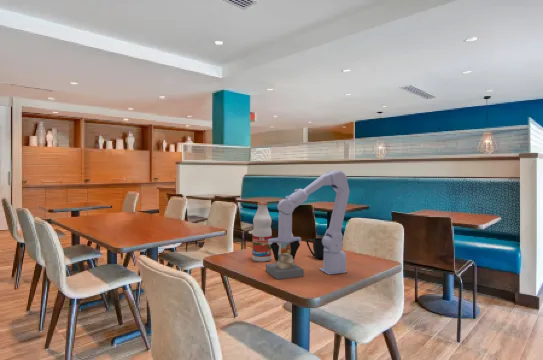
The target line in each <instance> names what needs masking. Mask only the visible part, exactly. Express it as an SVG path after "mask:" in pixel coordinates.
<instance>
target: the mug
mask: <svg viewBox="0 0 543 360" xmlns="http://www.w3.org/2000/svg"><path fill="white" fill-rule="evenodd" d="M322 238H323V237H316V238H313V239H311V238H307V239H306V245H307V248H308V250H309V252H310V253H311V255H312V256H313V257H314V258H315V259H316V260H322V261H323V258H324V246H323V244H322ZM309 241H311V242H312V248H311V246H310V243H309ZM312 249H313V251H312Z"/></svg>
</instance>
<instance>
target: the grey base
mask: <svg viewBox="0 0 543 360" xmlns="http://www.w3.org/2000/svg"><path fill="white" fill-rule="evenodd" d="M304 271H305V269H304V268H302V267H300V266H299V265H298V264H295V262H293V263H292V268H285V269H281V268H280V267H278V266H277V262H275V263H274V262H273V263H272V262H271V263H266V264H265V272H267V273H268V274H269V275H270V276H272V277H273V278H275V280H284V279H285V280H286V279H293V278H301V277H304V276H305V275H304Z"/></svg>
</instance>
